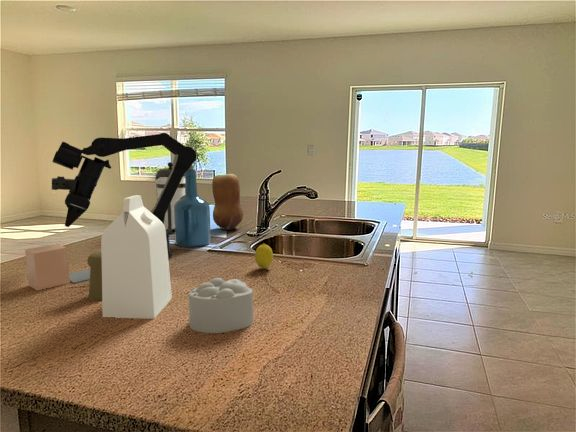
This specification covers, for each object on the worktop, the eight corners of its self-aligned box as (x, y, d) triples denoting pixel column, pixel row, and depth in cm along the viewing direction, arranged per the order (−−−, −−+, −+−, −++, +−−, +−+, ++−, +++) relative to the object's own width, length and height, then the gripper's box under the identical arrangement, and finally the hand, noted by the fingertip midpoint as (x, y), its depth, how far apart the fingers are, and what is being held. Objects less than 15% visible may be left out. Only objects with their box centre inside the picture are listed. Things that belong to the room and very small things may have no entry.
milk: (126, 297, 100) (118, 193, 95) (171, 298, 99) (166, 193, 95) (102, 317, 88) (93, 200, 83) (154, 318, 88) (147, 200, 83)
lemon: (276, 267, 124) (276, 242, 123) (267, 272, 119) (267, 246, 118) (260, 265, 127) (260, 240, 125) (251, 270, 122) (251, 244, 120)
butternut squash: (218, 225, 188) (217, 172, 184) (246, 226, 186) (245, 172, 182) (208, 232, 174) (207, 174, 170) (238, 233, 173) (237, 175, 168)
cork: (88, 301, 97) (85, 257, 95) (88, 293, 102) (84, 251, 100) (116, 297, 99) (112, 254, 98) (114, 289, 105) (111, 249, 103)
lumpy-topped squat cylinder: (257, 326, 84) (256, 286, 83) (195, 338, 79) (193, 296, 77) (241, 308, 94) (241, 272, 92) (185, 317, 88) (183, 280, 87)
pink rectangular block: (60, 278, 114) (57, 243, 112) (70, 282, 110) (66, 247, 108) (29, 285, 108) (24, 249, 106) (37, 290, 104) (33, 253, 102)
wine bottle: (216, 245, 152) (214, 165, 147) (182, 250, 145) (178, 166, 139) (202, 238, 163) (199, 164, 158) (170, 242, 156) (166, 164, 151)
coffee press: (188, 234, 171) (185, 163, 165) (150, 233, 171) (146, 162, 166) (197, 225, 188) (195, 161, 182) (163, 225, 188) (160, 161, 183)
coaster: (98, 267, 123) (98, 266, 123) (113, 273, 118) (113, 272, 118) (60, 276, 115) (60, 275, 115) (74, 283, 109) (74, 282, 109)
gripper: (62, 164, 126) (42, 209, 126) (57, 166, 109) (33, 219, 109) (99, 178, 131) (79, 222, 131) (99, 182, 114) (77, 233, 114)
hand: (67, 223), depth 121 cm, fingers open, 9 cm apart
